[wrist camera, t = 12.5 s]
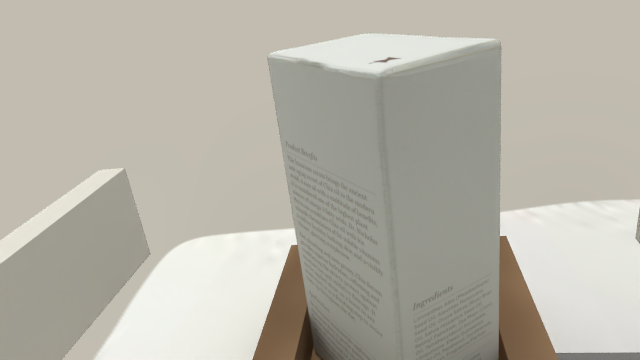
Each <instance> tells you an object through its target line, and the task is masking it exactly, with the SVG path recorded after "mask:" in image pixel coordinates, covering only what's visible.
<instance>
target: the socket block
mask: <svg viewBox="0 0 640 360" xmlns="http://www.w3.org/2000/svg"><path fill="white" fill-rule="evenodd" d="M253 360H323V359H322V358H321V357H320V356H319V355H318V354H317V353H316V352H315V349H314V344H313V338H312V332H311V325H310V319H309V313H308V306H307V300H306V294H305V287H304V281H303V275H302V269H301V263H300V257H299V251H298V245H291V248H290V251H289V254H288V257H287V260H286V263H285V266H284V268H283V271H282V274H281V277H280V280H279V283H278V286H277V289H276V292H275V295H274V298H273V301H272V304H271V307H270V310H269V313H268V315H267V318H266V321H265V324H264V327H263V330H262V333H261V336H260V339H259V342H258V345H257V348H256V351H255V354H254V357H253ZM498 360H558V358H557V355H556V353H555V351H554V348H553V346H552V344H551V341H550V339H549V336H548V334H547V332H546V329H545V327H544V325H543V322H542V320H541V318H540V315H539V313H538V310H537V308H536V306H535V303H534V301H533V299H532V296H531V294H530V292H529V289H528V287H527V284H526V282H525V280H524V277H523V275H522V273H521V270H520V268H519V266H518V263H517V261H516V258H515V256H514V254H513V251H512V249H511V247H510V244H509V242H508V240H507V237H506V236H500V255H499V357H498Z"/></svg>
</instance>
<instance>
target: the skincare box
mask: <svg viewBox="0 0 640 360" xmlns="http://www.w3.org/2000/svg"><path fill="white" fill-rule="evenodd" d="M268 65H269V71H270V76H271V83H272V88H273V96H274V101H275V108H276V115H277V121H278V126H279V133H280V140H281V145H282V152H283V158H284V164H285V170H286V176H287V183H288V189H289V195H290V202H291V208H292V214H293V220H294V226H295V232H296V238H297V245H298V251H299V257H300V263H301V269H302V275H303V281H304V287H305V294H306V300H307V306H308V313H309V319H310V325H311V332H312V338H313V344H314V349H315V352H316V353H317V354H318V355H319V356H320V357H321V358H322V359H323V360H498V357H499V255H500V151H501V150H500V149H501V148H500V147H501V145H500V134H501V133H500V132H501V109H500V108H501V107H500V106H501V42H500V40H498V39H486V38H447V37H428V36H417V35H394V34H370V33H369V34H368V33H367V34H361V35H356V36H351V37H346V38H341V39H337V40H331V41H326V42H322V43H317V44H312V45H307V46H302V47H296V48H291V49H286V50H280V51H275V52H272V53H270V54H269V55H268Z"/></svg>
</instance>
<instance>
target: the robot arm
mask: <svg viewBox="0 0 640 360" xmlns="http://www.w3.org/2000/svg"><path fill="white" fill-rule="evenodd" d="M636 239H637V241H638V242H639V243H640V210H639V217H638V224H637V231H636ZM149 255H150V251H149V247H148V244H147V241H146V237H145V234H144V231H143V227H142V224H141V220H140V217H139V214H138V211H137V207H136V204H135V200H134V197H133V194H132V190H131V187H130V184H129V180H128V177H127V174H126V170H125V168H120V169H108V170H107V169H105V170H99V171H97V172H96V173H95V174H93V175H92V176H91V177H89V178H88V179H86V180H85V181H83V182H82V183H81V184H79V185H78V186H76V187H75V188H73V189H72V190H71V191H69V192H68V193H66V194H65V195H64V196H62V197H61V198H59V199H58V200H57V201H55V202H54V203H52V204H51V205H49V206H48V207H47V208H45V209H44V210H42V211H41V212H40V213H38V214H37V215H35V216H34V217H33V218H32V219H30V220H28V221H27V222H25V223H24V224H23V225H21V226H20V227H18V228H17V229H16V230H14V231H13V232H11V233H10V234H9V235H7V236H6V237H5V238H3V239H2V240H0V360H62V359H63V357H64V356H65V355H66V354H67V353H68V352H69V350H70V349H71V348H72V347H73V346H74V344H75V343H76V342H77V341H78V340H79V339H80V337H81V336H82V335H83V334H84V333H85V331H86V330H87V329H88V328H89V327H90V325H91V324H92V323H93V322H94V321H95V319H96V318H97V317H98V316H99V315H100V313H101V312H102V311H103V310H104V309H105V308H106V306H107V305H108V304H109V303H110V302H111V300H112V299H113V298H114V297H115V295H116V294H117V293H118V292H119V291H120V290H121V288H122V287H123V286H124V285H125V284H126V283H127V281H128V280H129V279H130V278H131V277H132V275H133V274H134V273H135V272H136V271H137V269H138V268H139V267H140V266H141V265H142V263H143V262H144V261H145V260H146V259H147V257H148V256H149Z"/></svg>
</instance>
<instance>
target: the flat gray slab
mask: <svg viewBox="0 0 640 360" xmlns="http://www.w3.org/2000/svg"><path fill="white" fill-rule="evenodd" d="M556 355H557V358H558V360H640V353H556Z"/></svg>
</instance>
